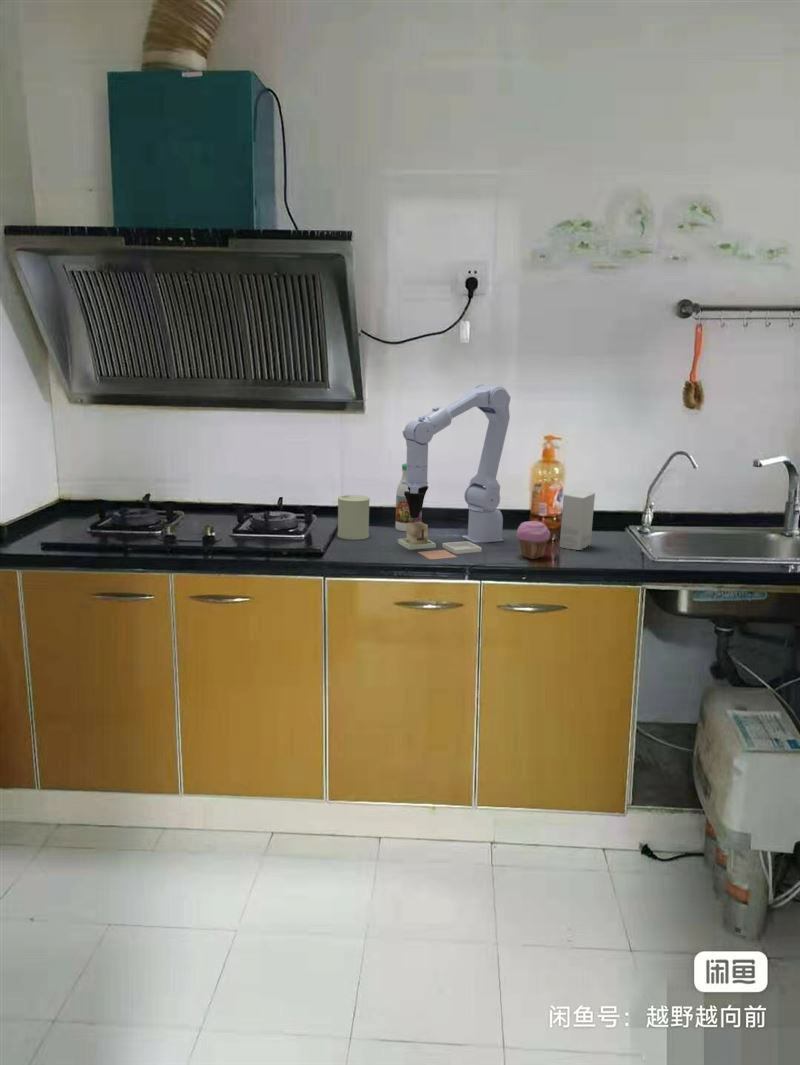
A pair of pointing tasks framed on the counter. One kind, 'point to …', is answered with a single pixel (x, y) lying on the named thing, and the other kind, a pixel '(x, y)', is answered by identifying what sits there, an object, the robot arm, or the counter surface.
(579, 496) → the skincare box
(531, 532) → the cupcake
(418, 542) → the brown block
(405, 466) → the milk bottle
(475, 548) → the light grey tray
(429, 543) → the sage green tray
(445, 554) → the terracotta pad
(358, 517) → the can
